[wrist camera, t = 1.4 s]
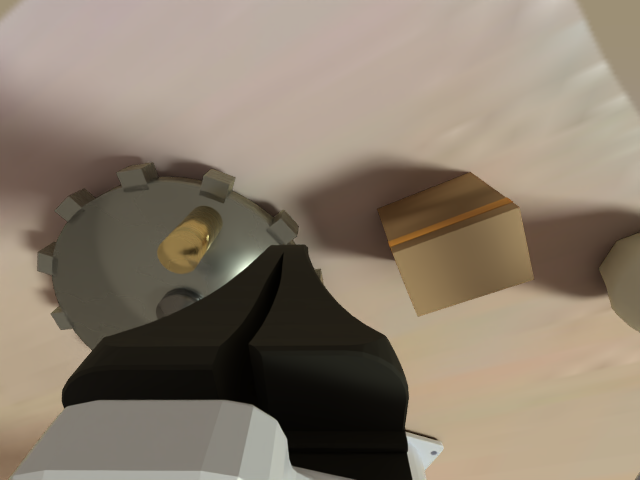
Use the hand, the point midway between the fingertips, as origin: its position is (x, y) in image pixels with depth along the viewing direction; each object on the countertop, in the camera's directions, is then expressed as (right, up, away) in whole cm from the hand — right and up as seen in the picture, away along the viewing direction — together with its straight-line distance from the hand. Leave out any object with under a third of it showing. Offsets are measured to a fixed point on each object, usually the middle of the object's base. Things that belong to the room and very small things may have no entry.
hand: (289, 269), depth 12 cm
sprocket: (-6, -2, +8) cm, 11 cm away
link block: (+7, +2, +6) cm, 10 cm away
